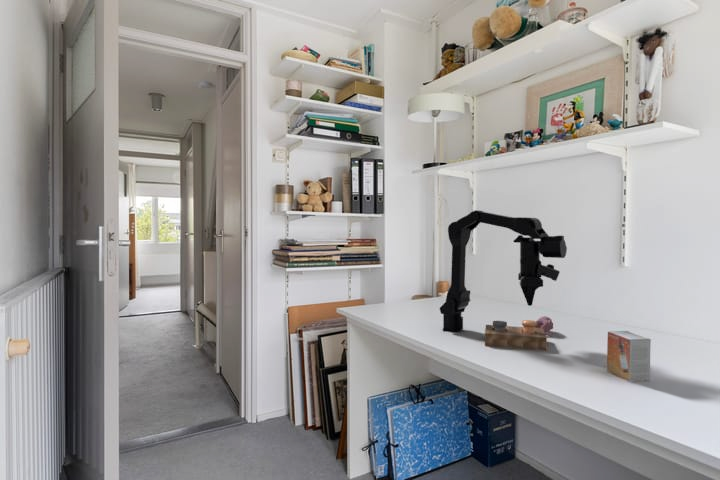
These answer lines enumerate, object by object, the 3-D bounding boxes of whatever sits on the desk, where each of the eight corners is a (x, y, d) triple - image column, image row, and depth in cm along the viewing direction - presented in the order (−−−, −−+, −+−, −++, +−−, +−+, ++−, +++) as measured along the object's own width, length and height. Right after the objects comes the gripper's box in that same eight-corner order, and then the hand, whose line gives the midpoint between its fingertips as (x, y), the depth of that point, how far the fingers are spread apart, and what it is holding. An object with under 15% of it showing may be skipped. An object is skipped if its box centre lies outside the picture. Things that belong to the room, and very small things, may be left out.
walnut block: (484, 345, 131) (484, 333, 131) (485, 336, 142) (485, 324, 142) (546, 350, 125) (546, 337, 125) (542, 340, 136) (542, 328, 136)
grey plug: (492, 342, 134) (492, 323, 133) (492, 338, 138) (492, 320, 138) (506, 343, 132) (506, 324, 132) (506, 339, 136) (506, 321, 136)
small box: (606, 370, 107) (606, 330, 107) (626, 370, 108) (626, 330, 107) (628, 382, 99) (629, 339, 99) (650, 381, 100) (651, 338, 99)
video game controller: (547, 341, 141) (557, 323, 140) (535, 334, 142) (545, 316, 141) (540, 333, 151) (550, 317, 150) (529, 327, 152) (538, 311, 151)
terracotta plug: (522, 342, 131) (522, 322, 130) (521, 338, 135) (521, 319, 135) (537, 343, 129) (537, 323, 129) (536, 339, 133) (536, 320, 133)
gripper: (561, 259, 120) (561, 312, 120) (553, 255, 137) (553, 301, 138) (520, 258, 123) (521, 310, 124) (518, 254, 141) (518, 300, 141)
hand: (529, 305), depth 132 cm, fingers closed
